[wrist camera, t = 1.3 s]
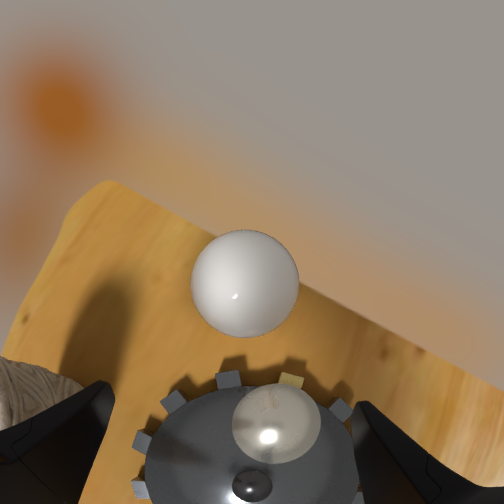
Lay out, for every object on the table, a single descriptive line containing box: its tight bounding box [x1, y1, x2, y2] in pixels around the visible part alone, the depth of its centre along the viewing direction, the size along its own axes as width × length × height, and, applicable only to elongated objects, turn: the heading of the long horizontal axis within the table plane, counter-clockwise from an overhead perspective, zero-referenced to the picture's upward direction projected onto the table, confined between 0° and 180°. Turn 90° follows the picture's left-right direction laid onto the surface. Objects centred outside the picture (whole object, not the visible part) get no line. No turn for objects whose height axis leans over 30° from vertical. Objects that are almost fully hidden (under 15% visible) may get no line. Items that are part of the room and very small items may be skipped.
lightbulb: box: [190, 230, 299, 338], centre depth 18 cm, size 6×6×11 cm
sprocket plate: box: [131, 370, 364, 504], centre depth 15 cm, size 19×19×2 cm
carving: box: [0, 356, 84, 431], centre depth 13 cm, size 6×8×12 cm
